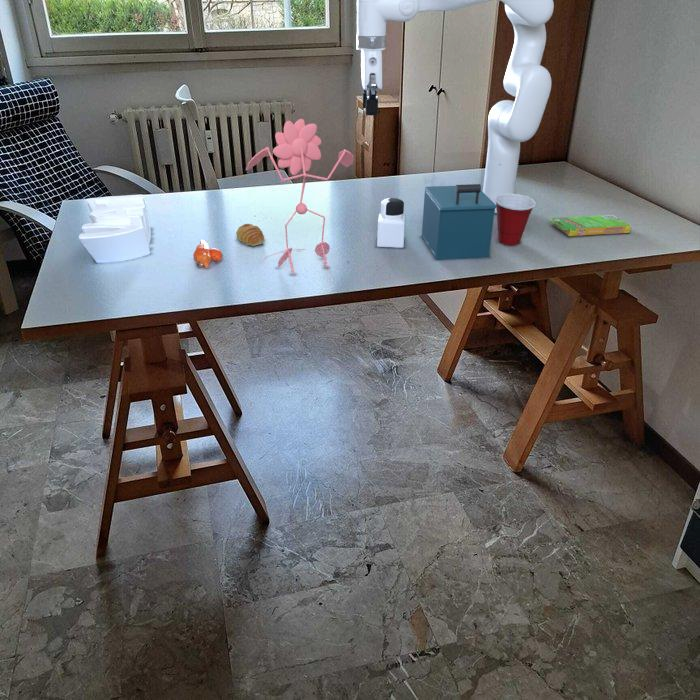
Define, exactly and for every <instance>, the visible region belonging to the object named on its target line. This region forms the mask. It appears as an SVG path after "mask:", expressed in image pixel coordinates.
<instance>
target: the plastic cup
mask: <svg viewBox="0 0 700 700" xmlns="http://www.w3.org/2000/svg"><path fill="white" fill-rule="evenodd" d="M527 196H528V195H523V194H521V195H519V193H515V194H510V193H508V194H500V195H497V196H496V197H495V203H496V209H497V213H496V227H497V228H496V229H497V240H498V243H500V244H502V245H504V246H509V247H510V246H512V247H513V246H517V245H519V244H520V243H521V241H522V237H523V234H524V232H525V230H526V226H527V223H528V221H529V217H530V215H531V213H532V211H533V209H534V208H535V207H536V205H537V204H536V201H535V200H534V199H532V197H529V196H528V197H527Z"/></svg>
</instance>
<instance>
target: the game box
mask: <svg viewBox="0 0 700 700" xmlns="http://www.w3.org/2000/svg"><path fill="white" fill-rule="evenodd" d="M549 220H550V222H552V223H553V226H554V227H556V228H557V229H559V230H560V231H561V232H562V233H564V234H565V235H566V236H568V237H577V236H579V237H581V236H597V235H600V236H601V235H616V234H630V231H631V227H632V225H631V224H629V223H628V222H626V221H624V220H623V219H621V218H619V217H617V216H616V215H614V214H606V215H605V214H603V215H601V214H600V215H585V216H584V215H583V216H566V217H565V216H562V217H551V218H549Z"/></svg>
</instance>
